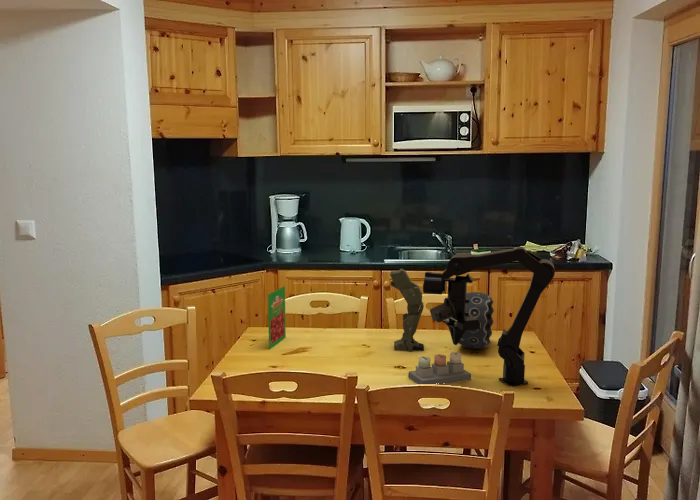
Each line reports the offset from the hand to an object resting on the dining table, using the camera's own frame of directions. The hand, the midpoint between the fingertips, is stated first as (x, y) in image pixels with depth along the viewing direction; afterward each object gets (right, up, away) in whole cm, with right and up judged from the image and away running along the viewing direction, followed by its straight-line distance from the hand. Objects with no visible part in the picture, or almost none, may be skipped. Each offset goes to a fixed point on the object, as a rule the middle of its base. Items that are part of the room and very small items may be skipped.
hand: (455, 344), depth 202 cm
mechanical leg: (-13, -6, +30) cm, 33 cm away
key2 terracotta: (-5, -8, -1) cm, 10 cm away
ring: (+12, -6, +31) cm, 34 cm away
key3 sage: (-10, -8, -3) cm, 13 cm away
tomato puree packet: (-59, -5, +35) cm, 69 cm away
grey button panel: (-5, -11, 0) cm, 12 cm away
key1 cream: (0, -8, +1) cm, 8 cm away
